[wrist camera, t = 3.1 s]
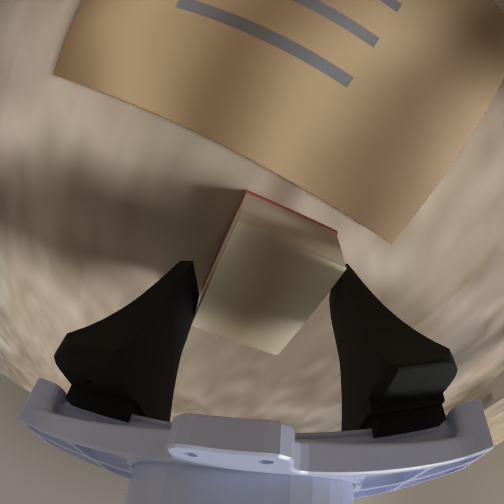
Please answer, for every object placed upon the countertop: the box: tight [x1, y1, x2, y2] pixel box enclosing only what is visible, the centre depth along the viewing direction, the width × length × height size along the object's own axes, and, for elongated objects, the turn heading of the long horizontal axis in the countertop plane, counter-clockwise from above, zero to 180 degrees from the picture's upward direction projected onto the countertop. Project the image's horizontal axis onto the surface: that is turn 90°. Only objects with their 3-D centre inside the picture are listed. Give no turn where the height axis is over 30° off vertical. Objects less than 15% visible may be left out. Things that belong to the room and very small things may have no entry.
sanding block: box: [192, 190, 347, 355], centre depth 14 cm, size 5×6×3 cm
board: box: [54, 0, 504, 244], centre depth 8 cm, size 17×13×1 cm
